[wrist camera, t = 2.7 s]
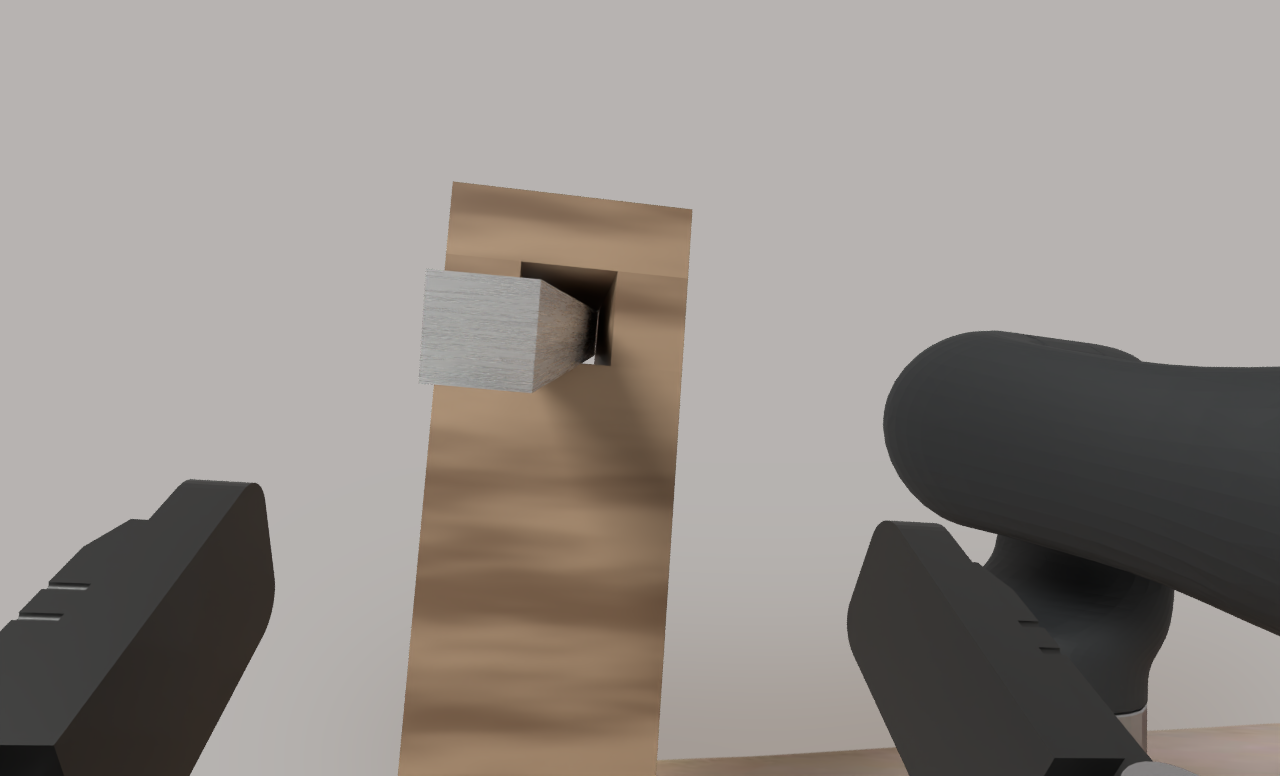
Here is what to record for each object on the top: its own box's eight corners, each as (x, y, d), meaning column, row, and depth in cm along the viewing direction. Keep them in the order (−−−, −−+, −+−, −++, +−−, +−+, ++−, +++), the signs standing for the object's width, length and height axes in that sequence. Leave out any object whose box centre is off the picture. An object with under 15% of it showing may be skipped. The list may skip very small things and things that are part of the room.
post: (694, 1195, 25) (751, 199, 28) (284, 1229, 23) (391, 155, 26) (639, 926, 39) (681, 277, 42) (379, 933, 37) (443, 252, 40)
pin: (531, 393, 15) (540, 279, 15) (418, 382, 15) (426, 268, 15) (594, 355, 39) (598, 312, 38) (551, 351, 39) (554, 308, 38)
